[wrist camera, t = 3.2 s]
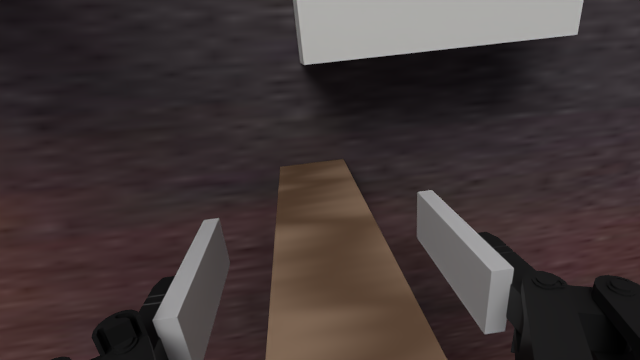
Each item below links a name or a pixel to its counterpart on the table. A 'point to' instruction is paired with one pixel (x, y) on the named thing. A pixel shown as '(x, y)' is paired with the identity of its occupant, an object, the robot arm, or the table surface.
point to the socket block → (423, 25)
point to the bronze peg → (338, 277)
